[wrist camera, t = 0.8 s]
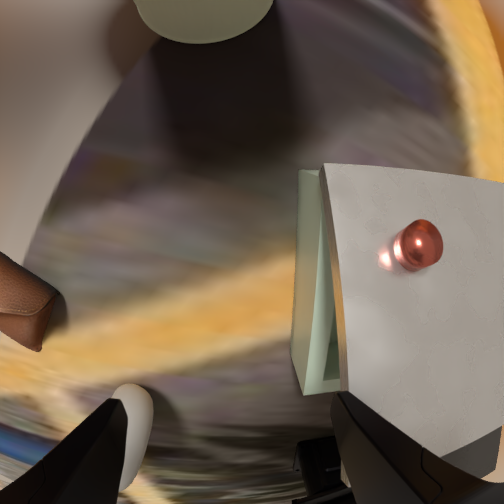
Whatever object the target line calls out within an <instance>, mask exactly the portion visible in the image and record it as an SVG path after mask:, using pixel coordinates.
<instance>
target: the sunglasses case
mask: <svg viewBox="0 0 504 504" xmlns="http://www.w3.org/2000/svg"><path fill="white" fill-rule="evenodd" d="M56 293H57V294H60V293H59V292H58V291H56V290H55V289H54V287H52V286H51V285H50V284H48V283H47V282H45V281H43V280H42V279H40V278H39V277H38V276H36V275H34V274H33V273H31V272H30V271H28V270H26V269H25V268H23V267H22V266H20V265H19V264H17V263H16V262H14V261H13V260H12V259H10V258H9V257H8V256H6V255H5V254H3V253H2V252H0V331H1V332H3V333H4V334H6V335H7V336H9V337H10V338H11V339H13V340H15V341H16V342H18V343H19V344H21V345H23V346H25V347H26V348H28V349H31V350H33V351H36V352H38V351H39V350H41V349H42V339H43V336H44V332H45V329H46V326H47V323H48V319H49V316H50V314H51V311H52V307H53V305H54V302H55V298H56Z"/></svg>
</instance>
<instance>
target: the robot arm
mask: <svg viewBox="0 0 504 504" xmlns="http://www.w3.org/2000/svg"><path fill="white" fill-rule="evenodd" d="M330 412H331V418H332V423H333V427H334V432H335V436H334V437H329V438H323V439H317V440H310V441H303V442H300V443H298V444H297V449H296V455H295V460H294V465H293V471H294V472H302V476H303V480H304V484H305V488H306V492H307V497H304V498H301V499H294V500H292V504H504V482H503V483H494V482H488V481H485V480H482V479H480V478H478V477H476V476H474V475H472V474H470V473H468V472H466V471H464V470H462V469H460V468H458V467H456V466H454V465H452V464H450V463H448V462H447V461H445V460H443V459H442V458H440V457H438V456H437V455H435V454H434V453H432V452H431V451H429V450H428V449H427V448H425V447H422V445H421V444H419V443H418V442H416V441H415V440H414V439H412V438H411V437H409V436H408V435H407V434H405V433H404V432H403V431H401V430H400V429H398V428H397V427H396V426H394V425H393V424H392V423H390V422H389V421H388V420H386V419H385V418H384V417H382V416H381V415H380V414H378V413H377V412H375V411H374V410H373V409H372V408H370V407H369V406H368V405H366V404H365V403H364V402H362V401H361V400H360V399H358V398H357V397H356V396H354V395H353V394H352V393H351V392H349V391H347V390H345V391H339V392H336V393H335V394H334V397H333V401H332V405H331V411H330ZM127 428H128V416H127V413H126V410H125V408H124V405H123V402H122V401H121V400H120V399H116V398H108V399H107V400H106V401H105V402H103V403H102V404H101V405H100V406H99V407H98V408H97V409H96V410H95V411H94V412H93V413H91V414H90V415H89V416H88V417H87V418H86V419H85V420H84V421H83V422H82V423H80V424H79V425H78V426H77V427H76V428H75V429H74V430H73V431H72V432H71V433H70V434H68V435H67V436H66V437H65V438H64V439H63V440H62V441H61V442H60V443H59V444H57V445H56V446H55V447H54V448H53V449H52V450H51V451H50V452H49V453H47V454H46V455H45V456H44V457H43V458H42V459H41V460H40V461H38V462H37V463H36V464H35V465H34V466H33V467H32V468H30V469H29V470H28V471H27V472H26V473H25V474H23V475H22V476H20V477H19V478H18V479H16V480H15V481H14V482H12V483H11V484H9V485H8V486H6V487H5V488H3V489H2V490H0V504H117V498H118V492H119V487H120V482H121V477H122V471H123V467H124V461H125V450H126V438H127ZM341 460H342V463H343V466H344V469H345V471H346V474H347V477H348V480H349V483H350V485H351V487H349V488H348V487H347V486H346V484H345V483H344V482H343V481H342V480H341Z"/></svg>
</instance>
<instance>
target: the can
mask: <svg viewBox="0 0 504 504" xmlns="http://www.w3.org/2000/svg"><path fill="white" fill-rule="evenodd" d="M134 2H135V4H136V5H137V8H138V11H139V14H140V16H141V18H142V20H143V21H144V22H145V23H146V25H147V26H148V27H149V28H150V29H152V30H153V31H154V32H156V33H157V34H159V35H161V36H163V37H165V38H168V39H171V40H174V41H178V42H183V43H192V44H204V43H213V42H219V41H223V40H227V39H230V38H233V37H235V36H238V35H240V34H242V33H244V32H246V31H247V30H249V29H250V28H252V27H253V26H255V25H256V24H257V23H258V22H259V21H260V20H261V19H262V18H263V17H264V16H265V15H266V14H267V12H268V11H269V9H270V7H271V5H272V3H273V0H134Z"/></svg>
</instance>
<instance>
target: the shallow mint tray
mask: <svg viewBox="0 0 504 504" xmlns="http://www.w3.org/2000/svg"><path fill="white" fill-rule="evenodd" d="M319 171H320V170H298V211H297V240H296V262H295V282H294V300H293V315H292V330H291V344H290V355H291V358H292V361H293V364H294V367H295V371H296V374H297V377H298V380H299V383H300V387H301V390H302V393H303V396H304V395H312V394H319V393H326V392H333V391H339V390H340V368H339V350H338V335H337V322H336V310H335V298H334V288H333V278H332V269H331V260H330V252H329V244H328V236H327V228H326V221H325V214H324V207H323V200H322V194H321V188H320V181H319V175H318V173H319Z"/></svg>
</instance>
